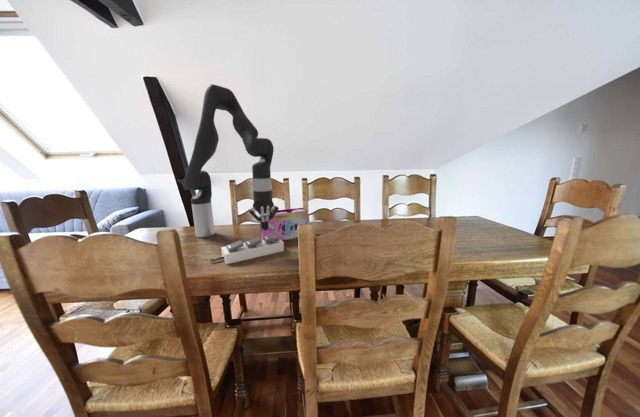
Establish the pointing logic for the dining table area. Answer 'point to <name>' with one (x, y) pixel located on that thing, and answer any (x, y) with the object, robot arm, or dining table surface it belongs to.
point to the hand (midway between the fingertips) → (264, 229)
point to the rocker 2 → (253, 242)
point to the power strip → (250, 251)
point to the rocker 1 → (234, 245)
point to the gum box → (285, 223)
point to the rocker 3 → (271, 238)
